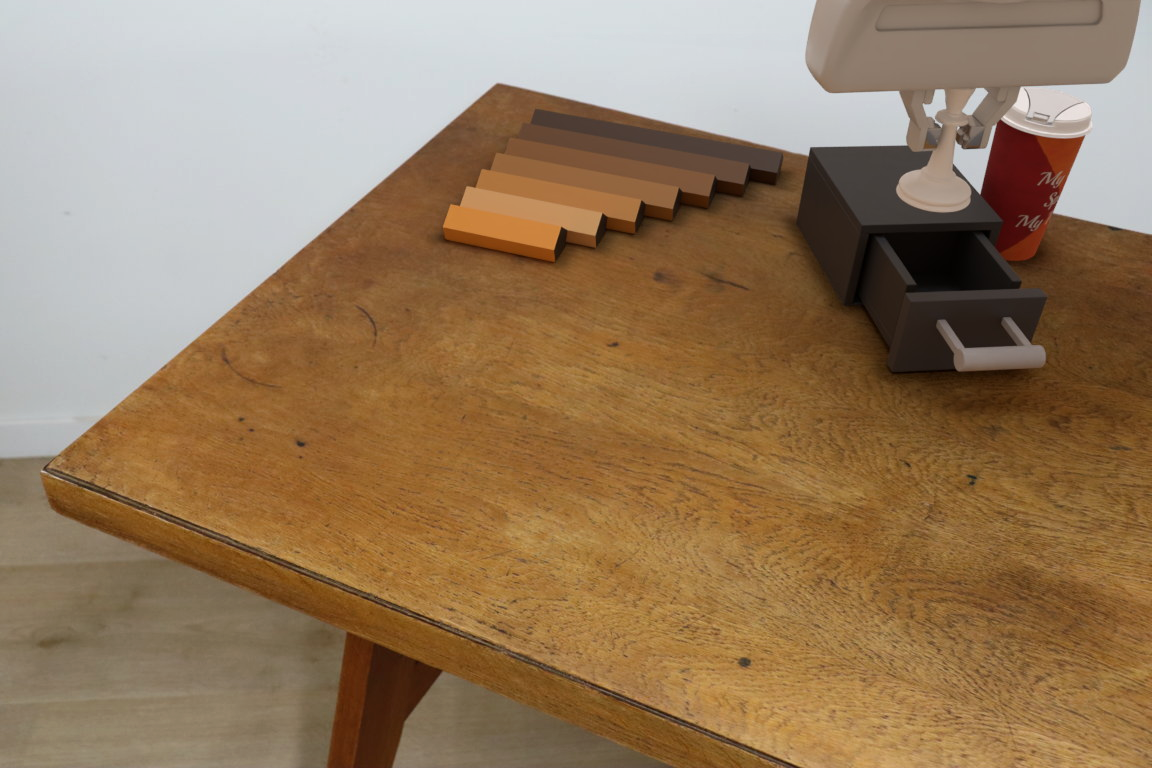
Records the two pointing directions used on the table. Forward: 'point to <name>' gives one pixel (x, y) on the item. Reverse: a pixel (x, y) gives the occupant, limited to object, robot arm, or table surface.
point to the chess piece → (940, 164)
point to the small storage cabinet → (871, 208)
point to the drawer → (949, 303)
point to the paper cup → (1032, 165)
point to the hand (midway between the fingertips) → (944, 146)
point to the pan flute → (595, 183)
